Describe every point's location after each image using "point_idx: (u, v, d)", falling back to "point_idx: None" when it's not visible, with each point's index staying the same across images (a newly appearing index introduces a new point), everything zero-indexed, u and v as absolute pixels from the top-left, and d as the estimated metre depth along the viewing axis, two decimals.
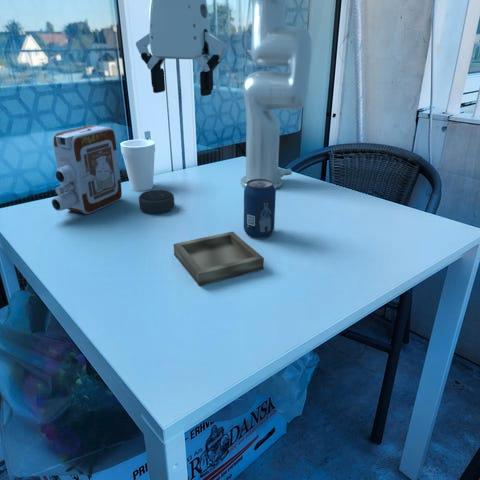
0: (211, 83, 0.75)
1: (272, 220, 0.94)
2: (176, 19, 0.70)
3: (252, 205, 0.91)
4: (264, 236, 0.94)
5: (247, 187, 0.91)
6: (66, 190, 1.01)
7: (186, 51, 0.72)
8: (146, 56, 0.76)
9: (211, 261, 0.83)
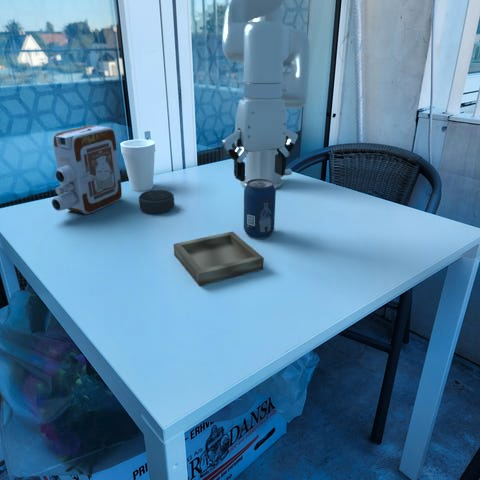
0: None
1: (272, 220, 0.94)
2: (272, 120, 0.84)
3: (252, 205, 0.91)
4: (264, 236, 0.94)
5: (247, 187, 0.91)
6: (66, 190, 1.01)
7: (276, 144, 0.87)
8: (234, 152, 0.85)
9: (211, 261, 0.83)
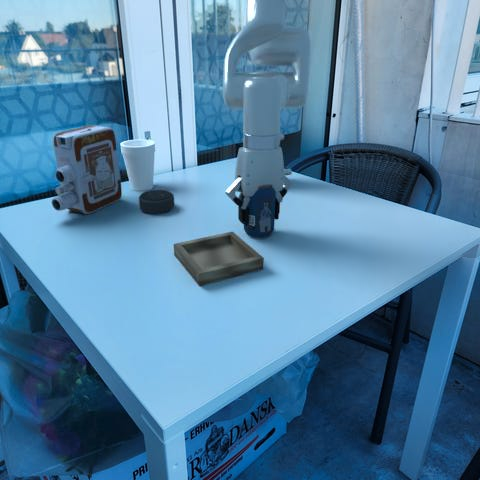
0: None
1: (272, 220, 0.94)
2: (270, 168, 0.89)
3: (252, 205, 0.91)
4: (264, 236, 0.94)
5: None
6: (66, 190, 1.01)
7: (274, 188, 0.92)
8: (239, 199, 0.90)
9: (211, 261, 0.83)
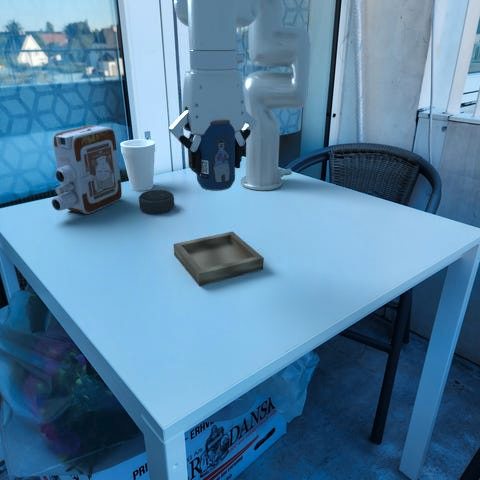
0: None
1: (231, 167, 0.75)
2: (225, 97, 0.70)
3: (204, 146, 0.72)
4: (221, 188, 0.75)
5: None
6: (66, 190, 1.01)
7: None
8: (187, 138, 0.71)
9: (211, 261, 0.83)
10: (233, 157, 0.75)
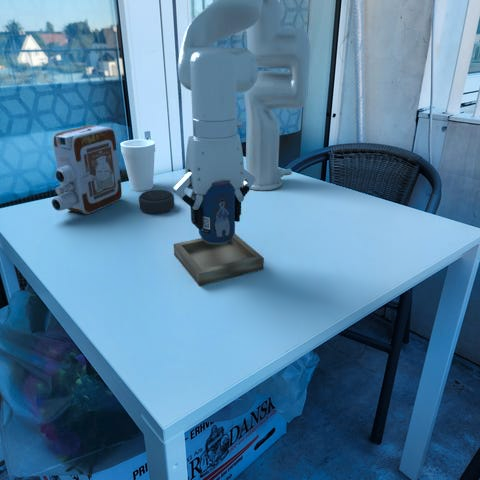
0: None
1: (231, 222, 0.79)
2: (226, 160, 0.74)
3: (206, 205, 0.76)
4: (222, 241, 0.80)
5: None
6: (66, 190, 1.01)
7: (232, 185, 0.77)
8: (189, 198, 0.76)
9: (211, 261, 0.83)
10: (233, 213, 0.79)
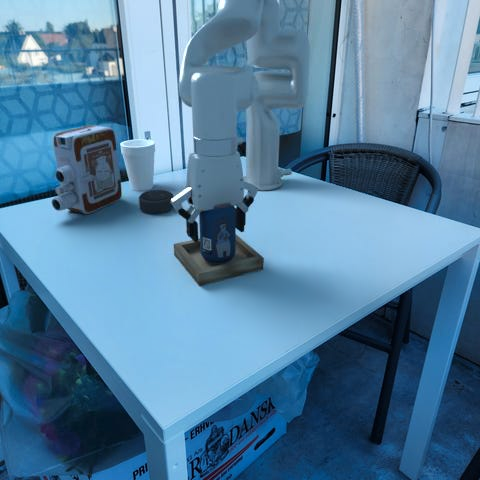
0: None
1: (232, 243, 0.81)
2: (226, 177, 0.76)
3: (208, 227, 0.79)
4: (223, 262, 0.82)
5: None
6: (66, 190, 1.01)
7: (232, 201, 0.79)
8: (185, 212, 0.76)
9: None
10: (234, 234, 0.81)
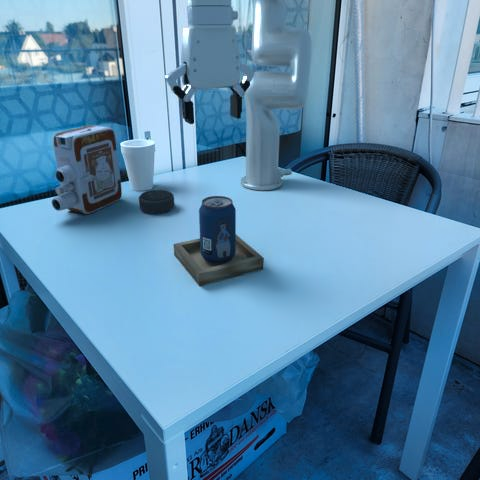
0: None
1: (232, 244, 0.81)
2: (222, 52, 0.74)
3: (208, 227, 0.79)
4: (223, 262, 0.82)
5: (202, 206, 0.79)
6: (66, 190, 1.01)
7: (228, 81, 0.77)
8: (180, 89, 0.75)
9: None
10: (234, 234, 0.81)
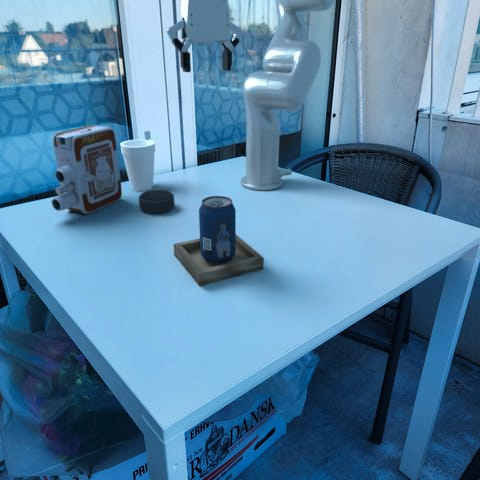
0: None
1: (232, 244, 0.81)
2: (214, 10, 0.88)
3: (208, 227, 0.79)
4: (223, 262, 0.82)
5: (201, 206, 0.79)
6: (66, 190, 1.01)
7: (220, 36, 0.91)
8: (179, 41, 0.89)
9: None
10: (234, 234, 0.81)
